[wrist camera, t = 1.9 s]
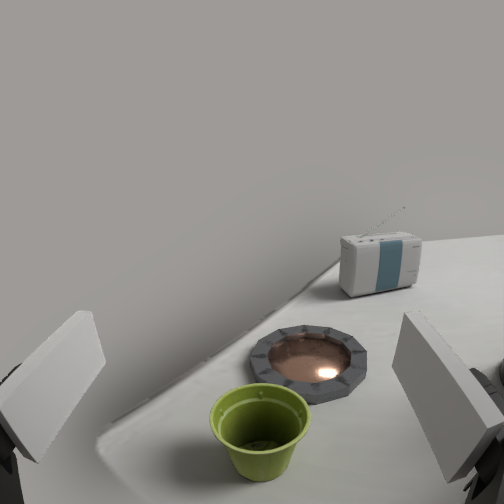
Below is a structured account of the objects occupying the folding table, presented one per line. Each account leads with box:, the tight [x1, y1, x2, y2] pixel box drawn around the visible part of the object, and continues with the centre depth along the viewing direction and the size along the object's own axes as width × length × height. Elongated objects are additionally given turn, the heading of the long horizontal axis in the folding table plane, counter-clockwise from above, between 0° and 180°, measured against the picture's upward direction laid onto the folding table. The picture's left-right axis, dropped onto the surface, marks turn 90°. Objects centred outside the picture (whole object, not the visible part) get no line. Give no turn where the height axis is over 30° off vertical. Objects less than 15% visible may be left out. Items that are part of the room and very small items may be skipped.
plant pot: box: [209, 383, 311, 481], centre depth 27 cm, size 9×9×9 cm
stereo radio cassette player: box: [339, 206, 422, 297], centre depth 69 cm, size 21×8×20 cm, turn 102°
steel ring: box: [250, 325, 367, 405], centre depth 45 cm, size 18×18×2 cm
